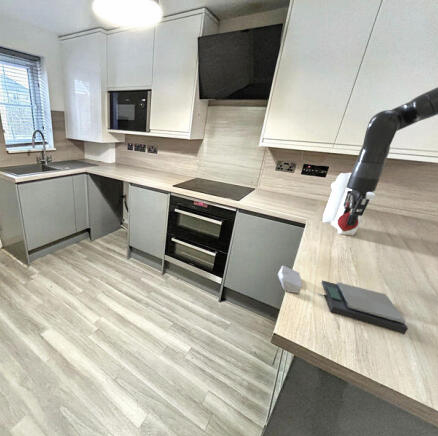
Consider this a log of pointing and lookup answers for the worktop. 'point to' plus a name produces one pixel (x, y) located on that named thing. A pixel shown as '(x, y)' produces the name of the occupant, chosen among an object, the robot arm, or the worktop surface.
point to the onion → (343, 220)
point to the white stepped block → (341, 203)
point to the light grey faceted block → (290, 280)
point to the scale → (340, 308)
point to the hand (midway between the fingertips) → (347, 222)
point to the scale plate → (369, 302)
